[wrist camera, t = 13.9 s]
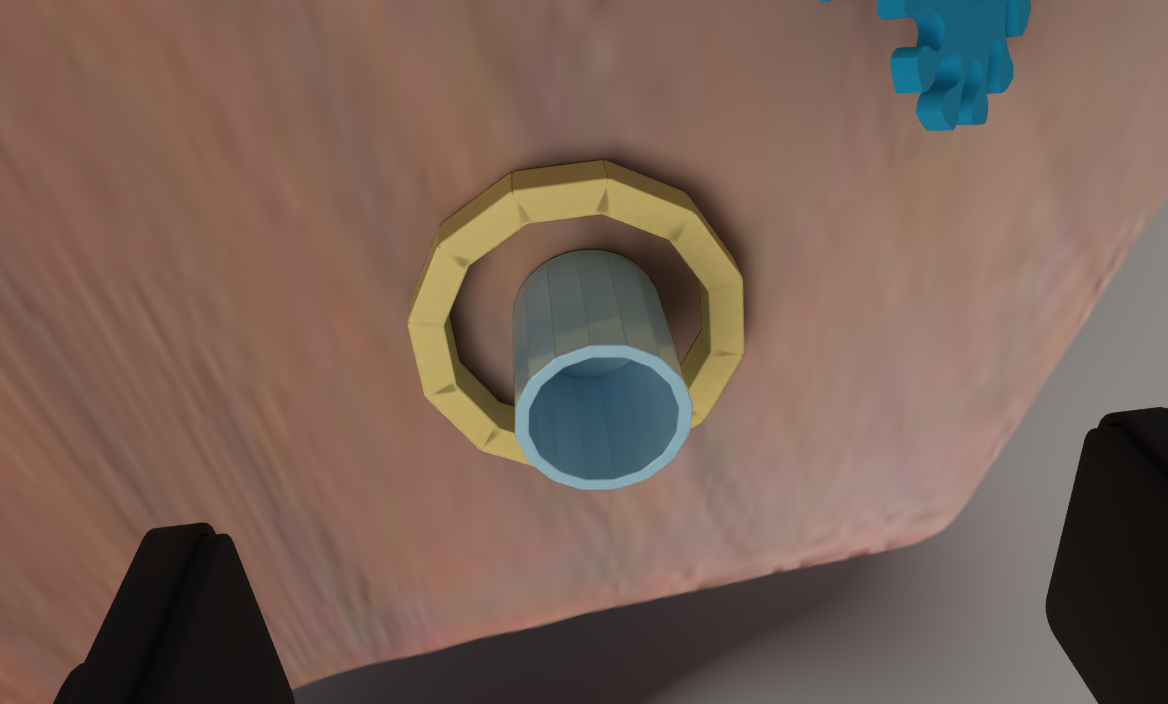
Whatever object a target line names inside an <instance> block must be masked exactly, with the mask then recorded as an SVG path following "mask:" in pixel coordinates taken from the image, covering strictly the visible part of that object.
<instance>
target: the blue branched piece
mask: <svg viewBox="0 0 1168 704" xmlns="http://www.w3.org/2000/svg"><path fill="white" fill-rule="evenodd" d="M820 1H830V0H820ZM1030 10H1031V7H1030V2H1029V0H877V15H878V16H879V18H881V19H882V20H888V19H898V18H908V17H912V18H913V19H914V20H915V21H916V23H917V27H918V42H917V46H916V47H905V48H897V49H896V50H895V51H894V52H893V54H892V56H891V73H892V78H893V83H894V87H895V91H896V93H919V92H922V93H921V95H920V97H919V99H918V103H917V108H916V113H917V116H918V118H919V120H920V122H921V124H922V125H923V126H924V127H925V128H926V130H927V131H939V130H953V129H954V128H955V126H956V125H979V124H984V123H986V119H987V114H988V100H987V94H990V93H1002V92H1004V91H1005V90H1006V89H1007V87H1008V86H1009V85H1010V83H1011V81H1012V79H1013V63H1012V60H1011V58H1010V55H1009V52H1008V48H1007V43H1006V37H1014V36H1022V35H1023V33H1024V31H1025V28H1026V26H1027V22H1028V18H1029V14H1030ZM934 76H935V78H934ZM933 79H934V82H933ZM932 82H933V84H932Z"/></svg>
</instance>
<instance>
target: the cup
mask: <svg viewBox="0 0 1168 704" xmlns="http://www.w3.org/2000/svg"><path fill="white" fill-rule="evenodd" d="M513 369H514V417H515V437H516V439H517V441H518V443H519V445H520V447H521V449H522V451H523V453H524V455H525V457H526V458H527V460H528V461H529V463H531V464H532V465H533V466H534V467H536V468H537V469H538V470H540V471H541V472H542V473H543V474H545V475H546V476H547V477H548V478H550V479H551V480H553V481H556V482H559V483H562V484H565V485H568V486H571V487H575V488H578V489H581V490H582V489H583V490H614V489H619V488H622V487H625V486H628V485H631V484H634V483H637V482H640V481H643V480H646V479H647V478H650V477H651V476H652V475H654V474H655V473H656V472H658V471H659V470H660V469H662V468H663V467H665V466H666V465H667V464H669V463H670V462H671V461H672V460H673V459H674V458H675V456H676V455H677V453H678V452H679V450H680V448H681V447H682V445H683V444H684V442H685V440H686V439H687V437H688V436H689V433H690V426H691V418H692V410H693V404H692V400H691V397H690V394H689V390H688V387H687V384H686V381H685V377H684V374H683V371H682V368H681V364H680V361H679V358H678V355H677V351H676V348H675V345H674V342H673V338H672V335H671V332H670V329H669V325H668V322H667V319H666V316H665V312H664V309H663V307H662V304H661V301H660V298H659V295H658V292H657V290H656V288H655V285H654V284H653V282H652V280H651V279H650V277H649V276H648V275H647V274H646V273H645V272H644V270H642V269H641V268H640V267H639V266H638V265H637V264H635V263H634V262H632V261H630V260H629V259H627V258H625V257H623V256H621V255H618V254H615V253H612V252H607V251H602V250H578V251H573V252H568V253H565V254H562V255H559V256H557V257H555V258H552V259H551V260H549V261H547V262H545V263H544V264H542V265H541V266H540V267H538V268H537V269H536V270H535V271H534V272H533V273H532V274H531V275H530V276H529V277H528V278H527V280H526V281H525V282H524V283H523V285H522V287H521V289H520V290H519V292H518V295H517V297H516V300H515V304H514V308H513Z"/></svg>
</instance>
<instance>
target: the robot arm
mask: <svg viewBox="0 0 1168 704" xmlns="http://www.w3.org/2000/svg"><path fill="white" fill-rule="evenodd" d="M1046 614H1047V619H1048V623H1049V625H1050V628H1051V630H1052V632H1053V634H1054V636H1055V637H1056V639H1057V640H1058V642H1059V644H1060V645H1061V647H1062V648H1063V650H1064V651H1065V653H1066V654H1067V656H1068V657H1069V659H1070V660H1071V662H1072V663H1073V665H1074V667H1075V668H1076V670H1077V671H1078V673H1079V674H1080V676H1081V677H1082V679H1083V681H1084V682H1085V684H1086V685H1087V687H1088V688H1089V690H1090V691H1091V693H1092V694H1093V696H1094V698H1095V699H1096V701H1097V702H1098V704H1168V408H1163V407H1156V408H1147V409H1139V410H1132V411H1123V412H1115V413H1110V414H1107V415H1105V416H1104V417H1103V418H1102V419H1101V421H1100V423H1099V426H1098V428H1095V429H1091V430H1090V431H1089V432H1088V433H1087V435H1086V437H1085V440H1084V444H1083V448H1082V452H1081V456H1080V461H1079V465H1078V469H1077V473H1076V477H1075V481H1074V485H1073V490H1072V494H1071V498H1070V502H1069V506H1068V511H1067V515H1066V519H1065V523H1064V527H1063V531H1062V536H1061V540H1060V544H1059V548H1058V552H1057V556H1056V560H1055V564H1054V569H1053V573H1052V578H1051V581H1050V585H1049V590H1048V594H1047V598H1046ZM53 704H295V701H294V696H293V693H292V690H291V688H290V685H289V682H288V680H287V677H286V675H285V672H284V670H283V667H282V665H281V662H280V660H279V657H278V654H277V652H276V649H275V647H274V644H273V642H272V639H271V637H270V634H269V632H268V629H267V626H266V624H265V621H264V619H263V616H262V614H261V611H260V609H259V606H258V604H257V601H256V598H255V596H254V593H253V591H252V588H251V586H250V583H249V581H248V578H247V576H246V573H245V570H244V568H243V565H242V563H241V560H240V558H239V555H238V553H237V550H236V548H235V545H234V543H233V541H232V539H231V537H230V536H229V535H228V534H217V535H216V533H215V531H214V529H213V527H212V526H210V525H209V524H208V523H194V524H186V525H178V526H170V527H161V528H153V529H151V530H150V531H148V532H147V533H146V535H145V536H144V538H143V540H142V542H141V544H140V546H139V548H138V550H137V552H136V554H135V556H134V559H133V561H132V563H131V565H130V567H129V569H128V571H127V573H126V575H125V578H124V580H123V582H122V584H121V586H120V588H119V590H118V592H117V594H116V597H115V599H114V601H113V603H112V605H111V607H110V609H109V611H108V613H107V616H106V618H105V620H104V622H103V624H102V626H101V628H100V630H99V632H98V635H97V637H96V639H95V641H94V643H93V645H92V647H91V649H90V651H89V654H88V656H87V658H86V660H85V662H84V663H82V664H80V665H79V666H77V667H76V668H75V669H74V670H72V671H71V672H70V674H69V675H68V677H67V678H66V680H65V682H64V683H63V685H62V686H61V688H60V690H59V692H58V694H57V697H56V699H55V701H54V703H53Z"/></svg>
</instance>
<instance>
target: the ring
mask: <svg viewBox="0 0 1168 704" xmlns="http://www.w3.org/2000/svg"><path fill="white" fill-rule="evenodd" d="M598 214H603V215H605V216H608V217H611V218H613V219H616V220H618V221H621V222H624V223H626V224H629V225H631V226H634V227H637V228H639V229H642V230H644V231H647V232H649V233H652V234H655V235H657V236H660V237H662V238H665V239H668V240H669V241H670V242H671V243H672V245H673V246H674V247H675V248H676V250H677V251H678V252H679V254H680V255H681V256H682V258H683V259H684V260H685V262H686V263H687V264H688V266H689V267H690V268H691V270H692V271H693V272H694V274H695V275H696V276H697V278H698V279H699V280H700V293H701V315H702V330H701V332H700V333H699V335H698V337H697V339H696V340H695V342H694V344H693V346H692V347H691V349H690V351H689V353H688V354H687V356H686V358H685V360H684V361H683V363H682V365H681V368H682V371H683V374H684V377H685V381H686V384H687V387H688V390H689V394H690V397H691V400H692V404H693V410H692V418H691V426H690V430H691V429H692V428H694V427H695V426H697V425H699V424H700V423H702V422H703V421H704V420H703V419H706V417H707V415H708V414H709V412H710V411H711V409H712V407H713V406H714V404H715V402H716V401H717V399H718V397H719V396H720V394H721V392H722V391H723V389H724V387H725V386H726V384H727V382H728V381H729V379H730V378H731V376H732V374H733V373H734V371H735V369H736V368H737V366H738V364H739V363H740V361H741V359H742V358H743V354H744V302H743V279H742V275H741V273H740V271H739V269H738V267H737V265H736V263H735V261H734V259H733V257H732V255H731V254H730V252H729V251H728V250H727V248H726V247H725V245H724V244H723V243H722V241H721V240H720V239H719V237H718V236H717V234H716V233H715V232H714V230H713V229H712V227H711V226H710V225H709V223H708V222H707V221H706V219H705V218H704V216H703V215H702V214H701V212H700V211H699V209H698V208H697V207H696V205H695V204H694V203H693V201H692V200H691V198H690V197H689V196H688V194H686V193H685V192H684V191H681V190H679V189H676V188H674V187H671V186H669V185H666V184H664V183H661V182H659V181H656V180H654V179H651V178H649V177H646V176H644V175H641V174H639V173H636V172H634V171H631V170H629V169H627V168H624V167H622V166H619V165H617V164H614V163H612V162H609V161H607V160H604V162H603V160H598V161H591V162H583V163H575V164H567V165H560V166H552V167H544V168H537V169H529V170H521V171H514V172H513V173H509V174H508V175H506V176H505V177H504V178H502V179H501V180H500V181H498V182H497V183H496V184H494V185H493V186H492V187H490V188H489V189H488V190H486V191H485V192H484V193H482V194H481V195H480V196H478V197H477V198H475V199H474V200H473V201H471V202H470V203H469V204H467V205H466V206H465V207H463V208H462V209H461V210H459V211H458V212H457V213H455V214H454V215H453V216H451V217H450V218H449V219H447V220H446V221H445V222H443V223H442V224H441V226H440V227H439V228H438V231H437V234H436V236H435V239H434V241H433V244H432V246H431V249H430V252H429V254H428V257H427V259H426V262H425V264H424V267H423V270H422V272H421V275H420V277H419V280H418V282H417V285H416V288H415V290H414V293H413V295H412V298H411V304H410V310H409V315H408V323H407V325H408V329H409V333H410V337H411V342H412V346H413V350H414V354H415V358H416V362H417V367H418V371H419V375H420V379H421V383H422V387H423V392H424V395H425V396H426V398H427V399H428V400H429V401H430V402H431V403H432V404H433V405H434V406H435V407H436V408H437V409H438V410H439V411H440V412H441V413H442V414H443V415H444V416H445V417H447V418H448V419H449V420H450V421H451V422H452V423H453V424H454V425H455V426H456V427H457V428H458V429H459V430H460V431H461V432H462V433H463V434H464V435H465V436H466V437H467V438H468V439H469V440H470V441H471V442H472V443H473V444H474V445H476V446H477V447H478V448H479V449H481V451H483V452H487V453H490V454H493V455H497V456H500V457H504V458H507V459H510V460H514V461H517V462H520V463H524V464H527V465H530V466H533V465H532V464H531V463H529V461H528V460H527V458H526V457H525V455H524V453H523V451H522V449H521V447H520V445H519V443H518V441H517V439H516V437H515V417H514V406H511V405H507V404H504V403H501V402H499V401H498V400H497V399H496V398H495V397H494V396H493V395H492V394H491V393H490V392H489V391H488V390H487V389H486V388H485V387H484V386H483V385H482V384H481V383H480V382H479V381H478V380H477V379H476V378H475V377H474V376H473V375H472V374H471V373H470V372H469V371H468V370H467V369H466V367H465V366H464V365H463V364H462V363H461V362H460V361H459V359H458V354H457V349H456V344H455V340H454V335H453V330H452V325H451V321H450V316H449V313H450V311H451V308H452V306H453V304H454V301H455V299H456V296H457V294H458V292H459V289H460V287H461V284H462V282H463V280H464V277H465V275H466V272H467V270H468V268H469V266H470V265H471V264H472V263H474V262H475V261H476V260H478V259H479V258H481V257H482V256H483V255H485V254H486V253H488V252H489V251H490V250H492V249H493V248H494V247H496V246H497V245H499V244H500V243H501V242H503V241H504V240H506V239H507V238H508V237H510V236H511V235H513V234H514V233H515V232H517V231H518V230H519V229H521V228H522V227H524V226H525V225H526V224H529V223H537V222H545V221H552V220H560V219H568V218H575V217H583V216H591V215H598Z"/></svg>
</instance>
